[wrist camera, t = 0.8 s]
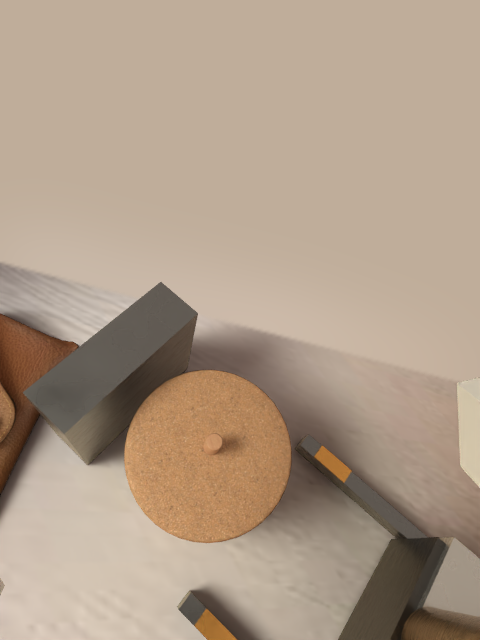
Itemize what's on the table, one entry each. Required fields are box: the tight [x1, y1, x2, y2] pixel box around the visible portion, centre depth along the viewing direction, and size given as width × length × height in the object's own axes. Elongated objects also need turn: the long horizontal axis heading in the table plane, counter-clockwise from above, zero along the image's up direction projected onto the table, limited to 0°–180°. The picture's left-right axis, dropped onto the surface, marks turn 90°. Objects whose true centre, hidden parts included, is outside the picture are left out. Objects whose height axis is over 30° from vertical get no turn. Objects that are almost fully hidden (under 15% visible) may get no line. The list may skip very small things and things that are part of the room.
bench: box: [23, 282, 428, 640], centre depth 28 cm, size 29×15×10 cm, turn 50°
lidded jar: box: [124, 370, 291, 543], centre depth 29 cm, size 11×11×9 cm
